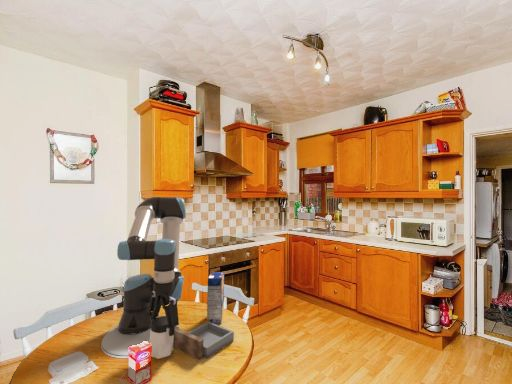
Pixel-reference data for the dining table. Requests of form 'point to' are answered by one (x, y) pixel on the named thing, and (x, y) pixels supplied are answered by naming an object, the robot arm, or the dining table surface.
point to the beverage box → (215, 297)
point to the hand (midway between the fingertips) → (162, 339)
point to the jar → (159, 338)
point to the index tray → (213, 337)
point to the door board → (188, 343)
